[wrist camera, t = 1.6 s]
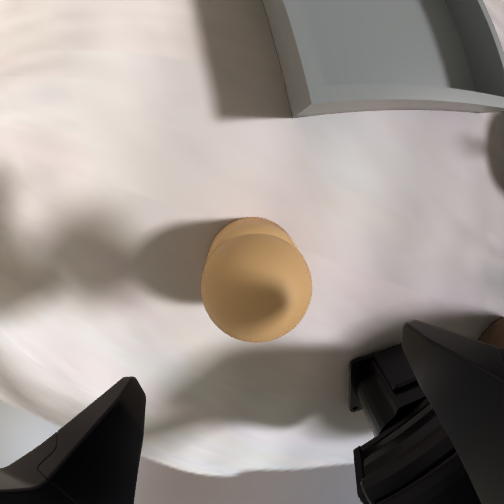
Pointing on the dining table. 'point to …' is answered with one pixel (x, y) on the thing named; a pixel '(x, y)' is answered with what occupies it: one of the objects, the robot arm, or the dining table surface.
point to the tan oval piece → (255, 281)
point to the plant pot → (494, 334)
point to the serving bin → (387, 55)
